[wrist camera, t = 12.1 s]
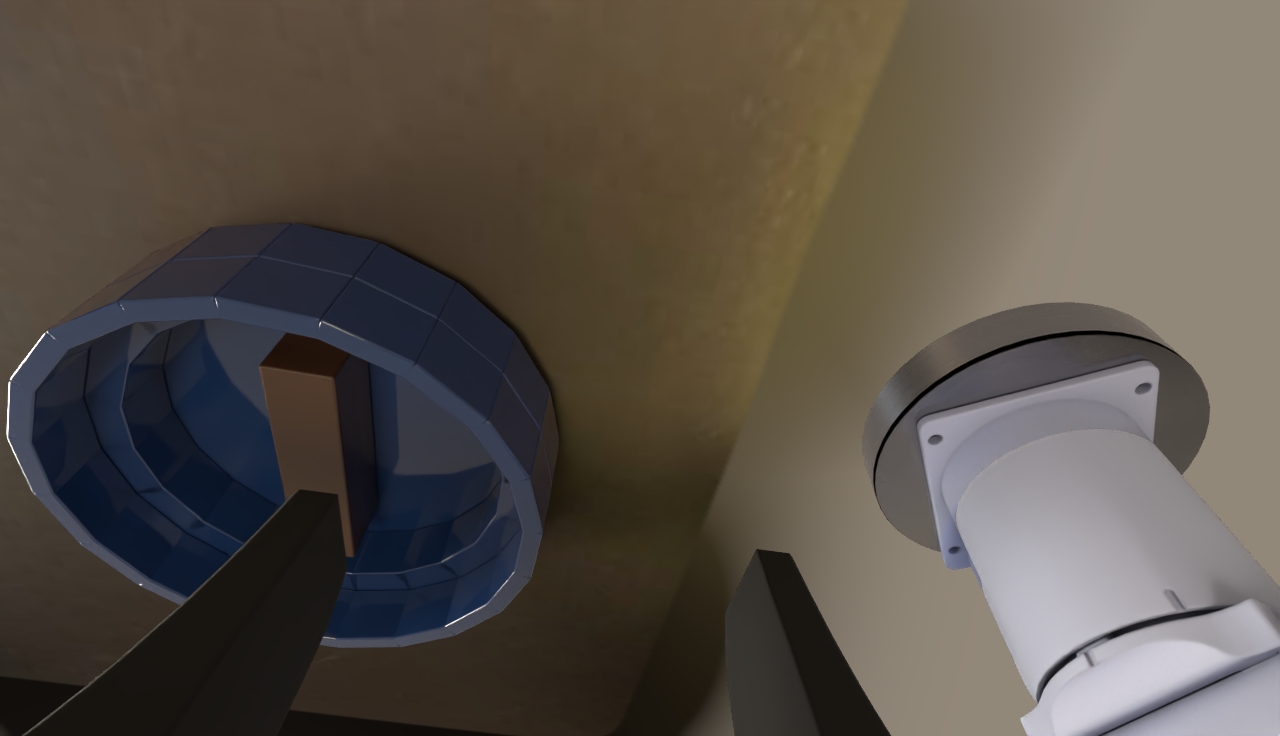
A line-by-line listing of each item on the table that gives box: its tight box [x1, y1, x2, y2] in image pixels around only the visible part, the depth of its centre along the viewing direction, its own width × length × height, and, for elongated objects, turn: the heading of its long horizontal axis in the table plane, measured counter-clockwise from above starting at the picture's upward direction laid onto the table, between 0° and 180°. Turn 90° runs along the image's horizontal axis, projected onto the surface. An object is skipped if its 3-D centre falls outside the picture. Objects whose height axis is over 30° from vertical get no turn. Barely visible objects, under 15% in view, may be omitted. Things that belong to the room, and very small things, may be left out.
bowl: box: [7, 223, 560, 648], centre depth 20 cm, size 14×14×4 cm
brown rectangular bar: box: [259, 332, 378, 557], centre depth 21 cm, size 8×2×2 cm, turn 169°
